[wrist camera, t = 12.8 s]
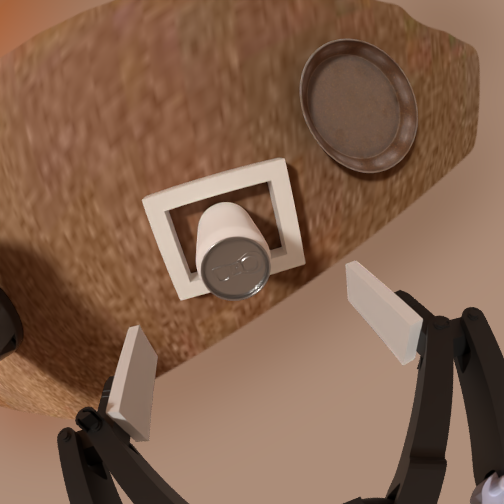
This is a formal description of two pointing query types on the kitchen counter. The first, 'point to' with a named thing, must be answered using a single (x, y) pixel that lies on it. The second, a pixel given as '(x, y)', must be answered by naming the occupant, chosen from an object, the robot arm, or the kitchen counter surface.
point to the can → (231, 253)
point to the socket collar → (215, 185)
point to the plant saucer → (358, 105)
